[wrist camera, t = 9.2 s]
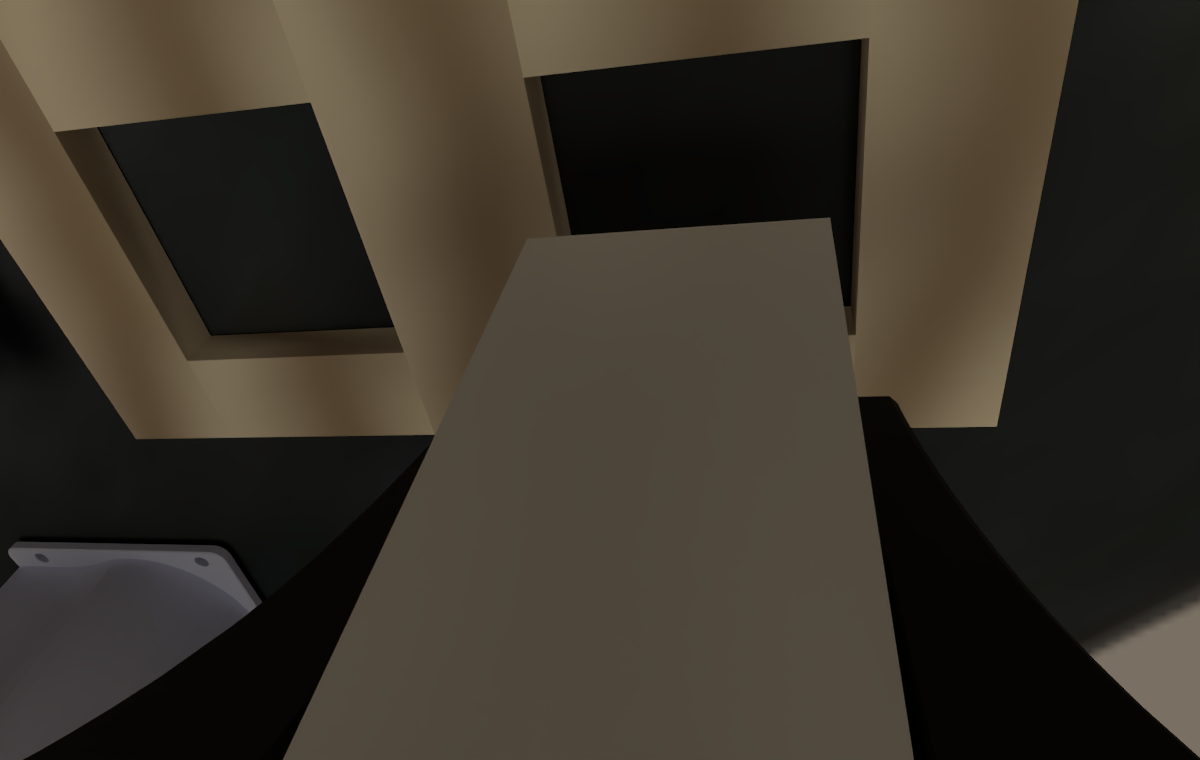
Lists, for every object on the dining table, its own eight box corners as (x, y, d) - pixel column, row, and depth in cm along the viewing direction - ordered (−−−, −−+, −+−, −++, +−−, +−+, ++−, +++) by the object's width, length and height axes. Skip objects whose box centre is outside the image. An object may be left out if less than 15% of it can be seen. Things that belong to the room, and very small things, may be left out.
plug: (577, 451, 15) (426, 1041, 8) (527, 238, 12) (239, 852, 5) (825, 449, 14) (889, 1116, 7) (830, 217, 11) (940, 930, 4)
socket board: (159, 413, 25) (135, 439, 24) (-102, 4, 18) (-150, 18, 17) (985, 394, 20) (996, 426, 19) (1088, -194, 13) (1114, -190, 12)
